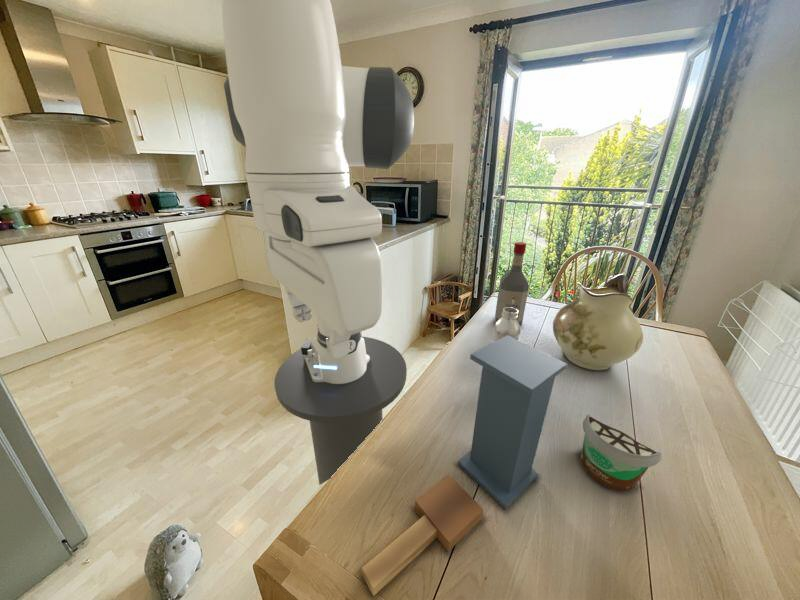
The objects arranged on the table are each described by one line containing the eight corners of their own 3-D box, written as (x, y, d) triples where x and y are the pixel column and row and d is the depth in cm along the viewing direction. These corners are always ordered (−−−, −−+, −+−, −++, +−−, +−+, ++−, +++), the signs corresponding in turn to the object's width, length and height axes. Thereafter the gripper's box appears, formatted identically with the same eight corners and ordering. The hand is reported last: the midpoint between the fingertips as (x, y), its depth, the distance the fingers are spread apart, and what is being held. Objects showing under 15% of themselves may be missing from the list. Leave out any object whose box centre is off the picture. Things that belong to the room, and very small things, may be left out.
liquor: (522, 330, 110) (537, 247, 98) (495, 327, 112) (507, 245, 100) (519, 318, 118) (533, 241, 106) (494, 315, 120) (505, 239, 108)
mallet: (353, 559, 46) (352, 549, 45) (447, 482, 58) (448, 473, 57) (383, 616, 41) (383, 606, 40) (481, 518, 52) (483, 509, 51)
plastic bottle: (509, 384, 83) (521, 318, 75) (484, 375, 87) (493, 311, 78) (515, 371, 88) (527, 308, 80) (491, 364, 92) (500, 302, 83)
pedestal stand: (457, 464, 61) (470, 353, 51) (489, 439, 67) (507, 335, 56) (505, 509, 53) (532, 389, 43) (537, 477, 59) (567, 363, 48)
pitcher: (558, 376, 86) (579, 294, 76) (538, 334, 108) (553, 265, 97) (647, 386, 83) (682, 301, 73) (609, 340, 104) (632, 269, 94)
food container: (562, 463, 61) (573, 425, 57) (575, 446, 65) (587, 410, 61) (634, 512, 53) (654, 472, 49) (645, 490, 56) (665, 451, 52)
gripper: (240, 198, 35) (262, 309, 40) (316, 227, 20) (334, 396, 25) (296, 195, 38) (309, 297, 44) (395, 217, 23) (395, 368, 29)
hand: (318, 334), depth 34 cm, fingers open, 8 cm apart
